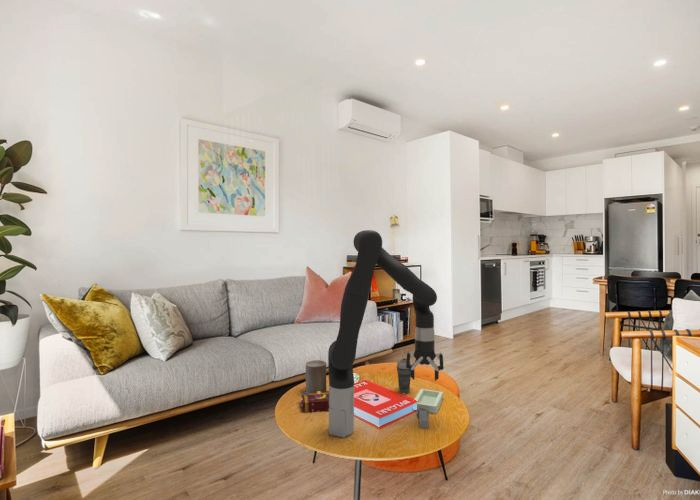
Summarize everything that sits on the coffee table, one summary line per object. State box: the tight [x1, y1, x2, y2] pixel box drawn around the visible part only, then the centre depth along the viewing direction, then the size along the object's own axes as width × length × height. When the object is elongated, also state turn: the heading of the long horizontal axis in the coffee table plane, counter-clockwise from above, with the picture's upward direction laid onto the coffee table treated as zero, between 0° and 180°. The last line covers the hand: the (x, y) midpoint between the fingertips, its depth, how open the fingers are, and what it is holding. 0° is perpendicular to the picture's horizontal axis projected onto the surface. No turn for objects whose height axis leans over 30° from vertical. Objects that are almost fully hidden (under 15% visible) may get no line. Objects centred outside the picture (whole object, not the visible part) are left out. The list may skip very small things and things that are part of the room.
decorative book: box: [299, 390, 329, 413], centre depth 166 cm, size 11×16×5 cm
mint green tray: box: [413, 388, 444, 415], centre depth 168 cm, size 17×10×3 cm, turn 158°
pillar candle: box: [305, 359, 328, 393], centre depth 181 cm, size 10×10×15 cm
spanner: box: [416, 406, 429, 430], centre depth 153 cm, size 13×4×3 cm, turn 173°
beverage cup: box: [396, 348, 412, 395], centre depth 182 cm, size 7×7×20 cm
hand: (424, 379), depth 152 cm, fingers open, 8 cm apart
